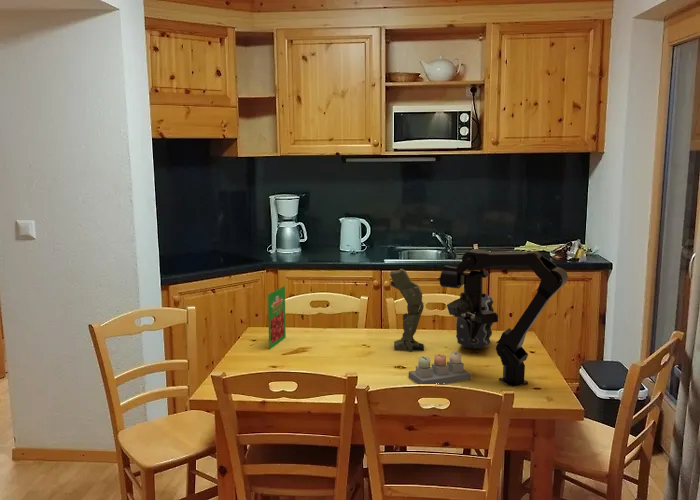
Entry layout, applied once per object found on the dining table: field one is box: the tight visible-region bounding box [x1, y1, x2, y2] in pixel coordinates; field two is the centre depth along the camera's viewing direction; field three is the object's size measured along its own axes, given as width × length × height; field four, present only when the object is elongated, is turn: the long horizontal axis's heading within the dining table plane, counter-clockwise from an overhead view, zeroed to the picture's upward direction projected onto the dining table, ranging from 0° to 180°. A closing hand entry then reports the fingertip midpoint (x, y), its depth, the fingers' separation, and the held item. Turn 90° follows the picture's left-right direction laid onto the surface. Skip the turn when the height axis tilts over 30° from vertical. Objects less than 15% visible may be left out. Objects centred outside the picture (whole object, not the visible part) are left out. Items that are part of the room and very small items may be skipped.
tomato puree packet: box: [267, 285, 287, 350], centre depth 235 cm, size 15×1×20 cm, turn 163°
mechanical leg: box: [389, 268, 425, 352], centre depth 229 cm, size 14×7×30 cm, turn 84°
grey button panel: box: [408, 360, 472, 385], centre depth 201 cm, size 9×17×4 cm, turn 112°
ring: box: [455, 293, 495, 350], centre depth 231 cm, size 11×20×20 cm, turn 160°
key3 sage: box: [417, 356, 431, 369], centre depth 199 cm, size 4×4×5 cm
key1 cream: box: [449, 351, 463, 364], centre depth 203 cm, size 4×4×5 cm
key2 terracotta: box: [433, 353, 447, 366], centre depth 201 cm, size 4×4×5 cm
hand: (472, 338), depth 204 cm, fingers closed
